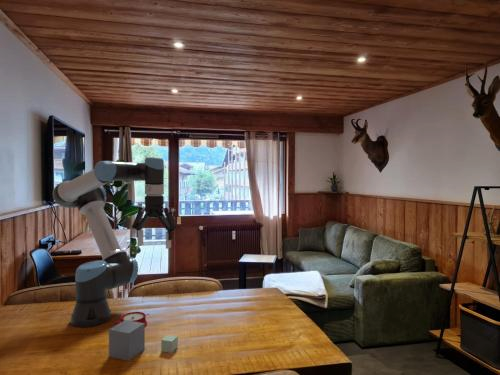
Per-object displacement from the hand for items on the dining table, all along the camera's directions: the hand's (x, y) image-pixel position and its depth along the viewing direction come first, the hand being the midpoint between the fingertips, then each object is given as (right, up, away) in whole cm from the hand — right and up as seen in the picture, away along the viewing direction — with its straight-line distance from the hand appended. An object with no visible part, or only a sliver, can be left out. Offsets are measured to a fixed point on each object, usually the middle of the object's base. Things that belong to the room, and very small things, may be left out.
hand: (154, 246), depth 138 cm
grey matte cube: (-2, -31, -25) cm, 40 cm away
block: (+12, -31, -23) cm, 40 cm away
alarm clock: (-7, -31, -6) cm, 33 cm away
